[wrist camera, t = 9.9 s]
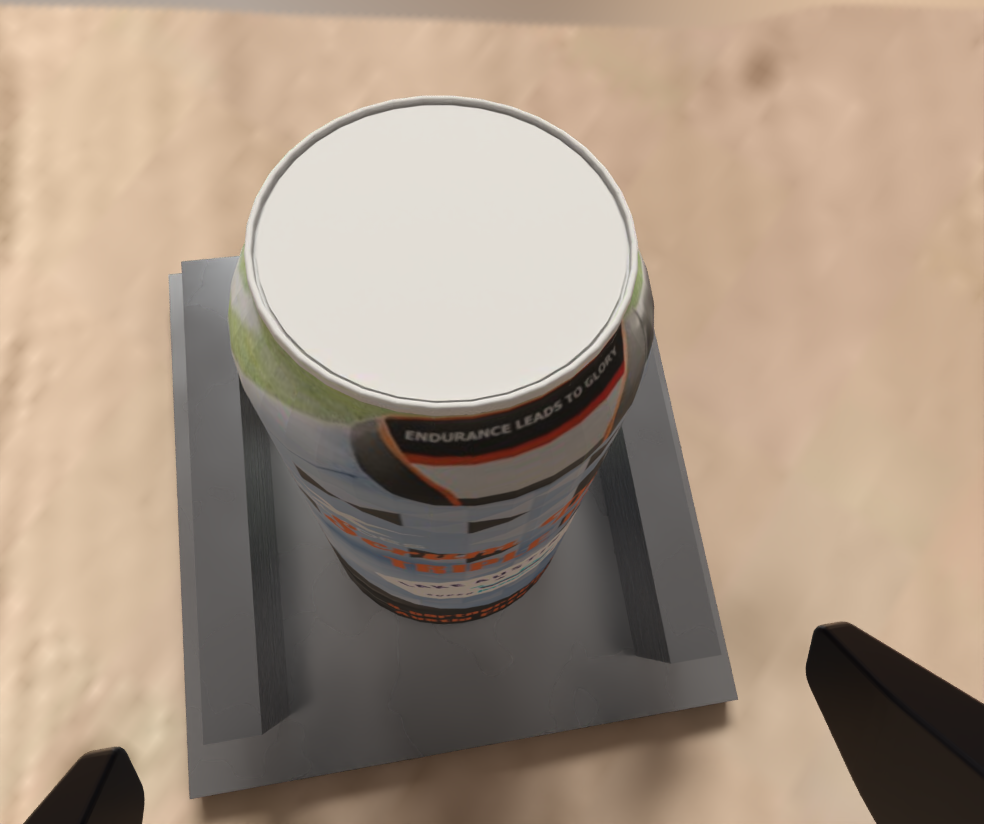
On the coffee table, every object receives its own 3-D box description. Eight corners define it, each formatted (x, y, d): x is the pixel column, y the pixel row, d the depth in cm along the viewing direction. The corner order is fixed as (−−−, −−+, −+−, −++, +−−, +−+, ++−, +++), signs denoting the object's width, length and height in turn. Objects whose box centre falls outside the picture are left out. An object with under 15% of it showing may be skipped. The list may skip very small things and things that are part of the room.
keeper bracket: (726, 696, 20) (792, 715, 16) (200, 791, 18) (140, 836, 14) (622, 232, 23) (657, 161, 20) (177, 277, 22) (125, 210, 18)
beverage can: (367, 656, 18) (250, 702, 7) (298, 395, 20) (119, 87, 9) (594, 580, 19) (825, 509, 8) (509, 338, 21) (596, -5, 10)
